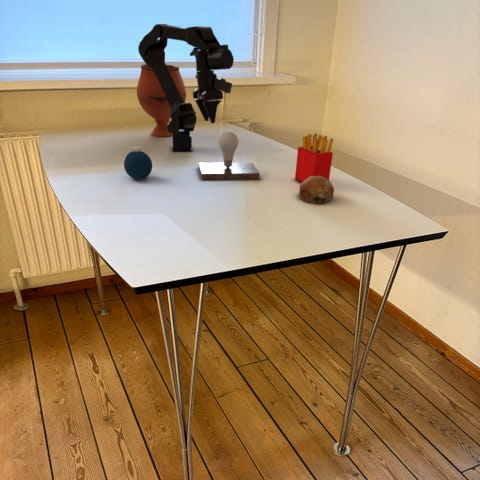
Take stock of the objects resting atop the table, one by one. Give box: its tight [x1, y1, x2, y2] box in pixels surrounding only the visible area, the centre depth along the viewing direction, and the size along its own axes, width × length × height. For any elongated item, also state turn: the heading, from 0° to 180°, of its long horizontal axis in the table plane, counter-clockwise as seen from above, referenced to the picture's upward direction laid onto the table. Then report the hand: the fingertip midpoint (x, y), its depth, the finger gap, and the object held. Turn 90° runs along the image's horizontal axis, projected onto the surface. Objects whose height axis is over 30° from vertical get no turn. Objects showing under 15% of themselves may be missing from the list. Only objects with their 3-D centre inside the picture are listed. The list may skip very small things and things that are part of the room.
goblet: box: [136, 63, 187, 137], centre depth 193 cm, size 19×19×25 cm
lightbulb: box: [218, 131, 239, 168], centre depth 154 cm, size 6×6×11 cm
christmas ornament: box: [123, 146, 153, 181], centre depth 147 cm, size 8×8×10 cm
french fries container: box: [294, 132, 334, 184], centre depth 150 cm, size 7×9×14 cm
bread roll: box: [298, 176, 335, 205], centre depth 140 cm, size 10×10×8 cm
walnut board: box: [197, 162, 260, 181], centre depth 157 cm, size 18×12×2 cm, turn 99°
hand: (209, 122), depth 167 cm, fingers open, 9 cm apart
